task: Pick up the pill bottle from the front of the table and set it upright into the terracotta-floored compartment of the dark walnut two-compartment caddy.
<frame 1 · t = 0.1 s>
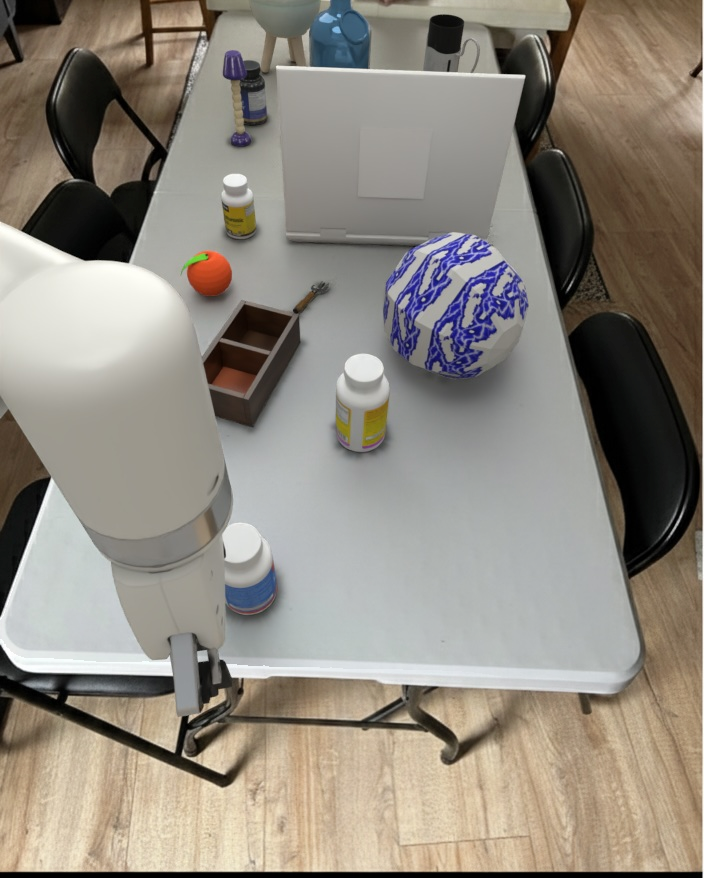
hand: (207, 618, 45), 21 cm above the table, tool pointing down, fingers open, 9 cm apart
supplement bottle 2: (241, 232, 110), on the table
caddy: (248, 374, 89), on the table
clementine: (210, 293, 100), on the table
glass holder: (445, 98, 145), on the table
supplement bottle: (360, 435, 83), on the table
laptop: (384, 206, 117), on the table
pill bottle 2: (253, 120, 135), on the table
ornament: (443, 356, 93), on the table
toy lamp: (242, 141, 130), on the table
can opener: (311, 300, 100), on the table
wine bottle: (339, 103, 141), on the table
planter: (288, 71, 151), on the table
pill bottle: (250, 590, 70), on the table
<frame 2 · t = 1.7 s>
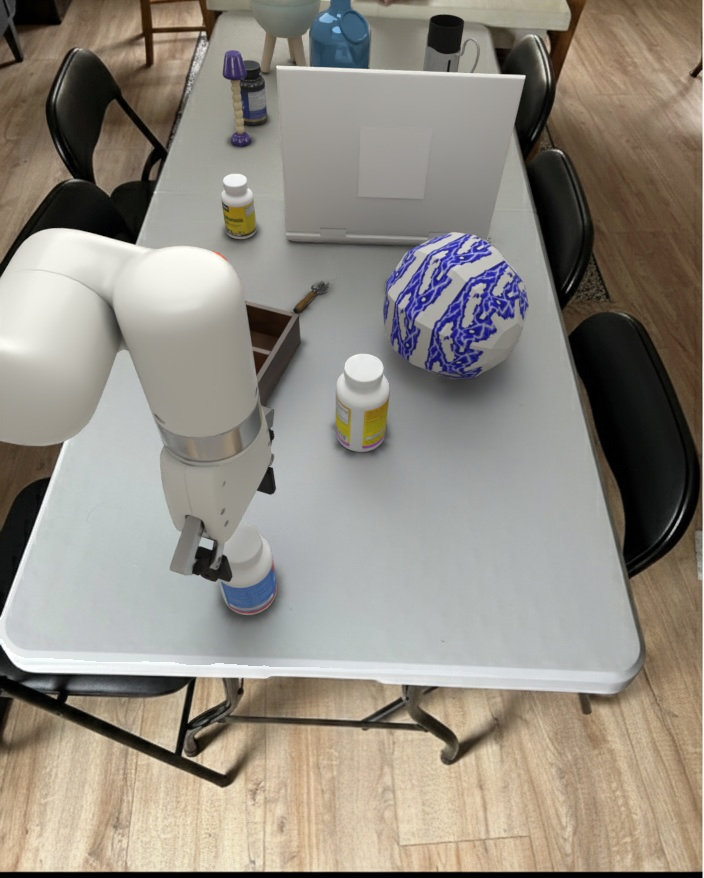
hand: (239, 529, 58), 14 cm above the table, tool pointing down, fingers open, 9 cm apart
nothing on the table moved.
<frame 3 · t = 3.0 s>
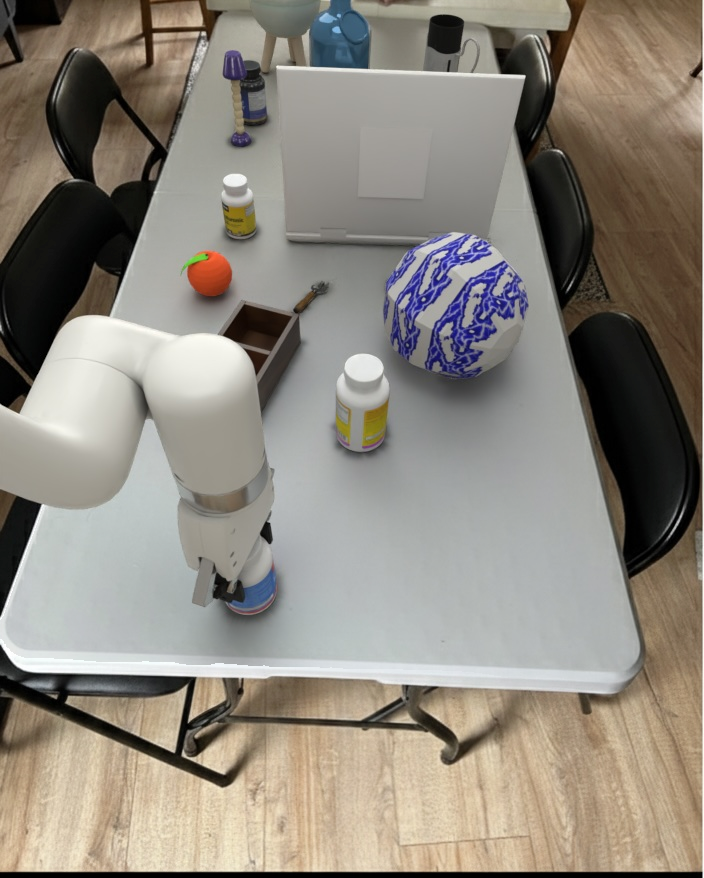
hand: (244, 565, 65), 6 cm above the table, tool pointing down, fingers closed on pill bottle, 6 cm apart
pill bottle: (250, 590, 70), on the table, touching gripper
everything else where it was.
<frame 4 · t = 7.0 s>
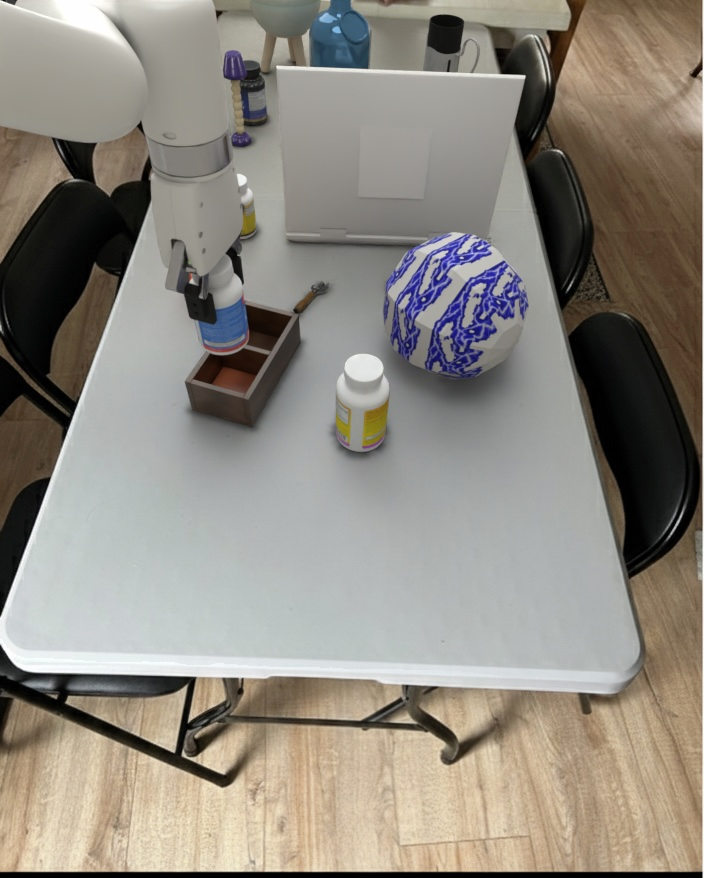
hand: (217, 300, 71), 19 cm above the table, tool pointing down, fingers closed on pill bottle, 6 cm apart
pill bottle: (224, 340, 76), point 13 cm above the table, touching gripper
everything else where it was.
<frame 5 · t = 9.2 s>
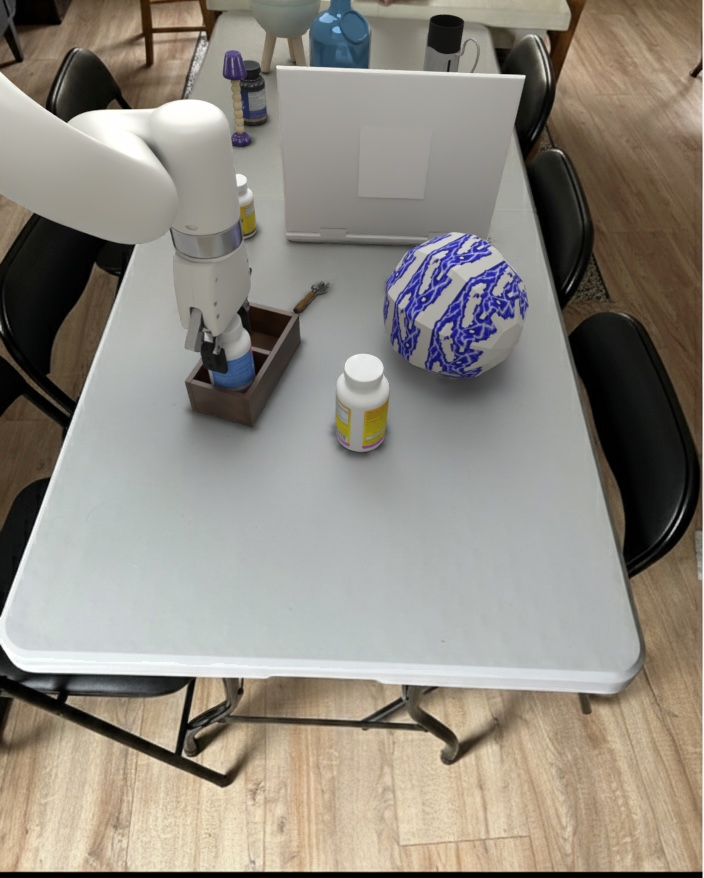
hand: (228, 351, 80), 9 cm above the table, tool pointing down, fingers closed on pill bottle, 6 cm apart
pill bottle: (234, 383, 85), point 2 cm above the table, touching gripper
everything else where it was.
when the fingers open (7 cm above the table, at t = 10.2 s): pill bottle stays where it is, resting on caddy.
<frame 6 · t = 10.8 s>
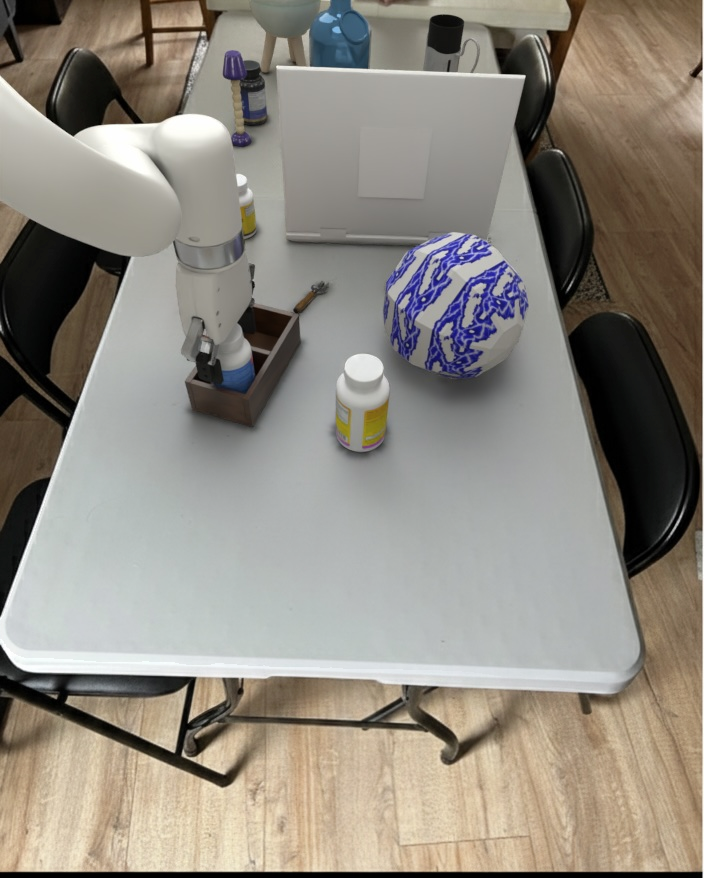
hand: (228, 354, 81), 8 cm above the table, tool pointing down, fingers open, 9 cm apart
pill bottle: (235, 392, 86), point 1 cm above the table, touching caddy
everything else where it was.
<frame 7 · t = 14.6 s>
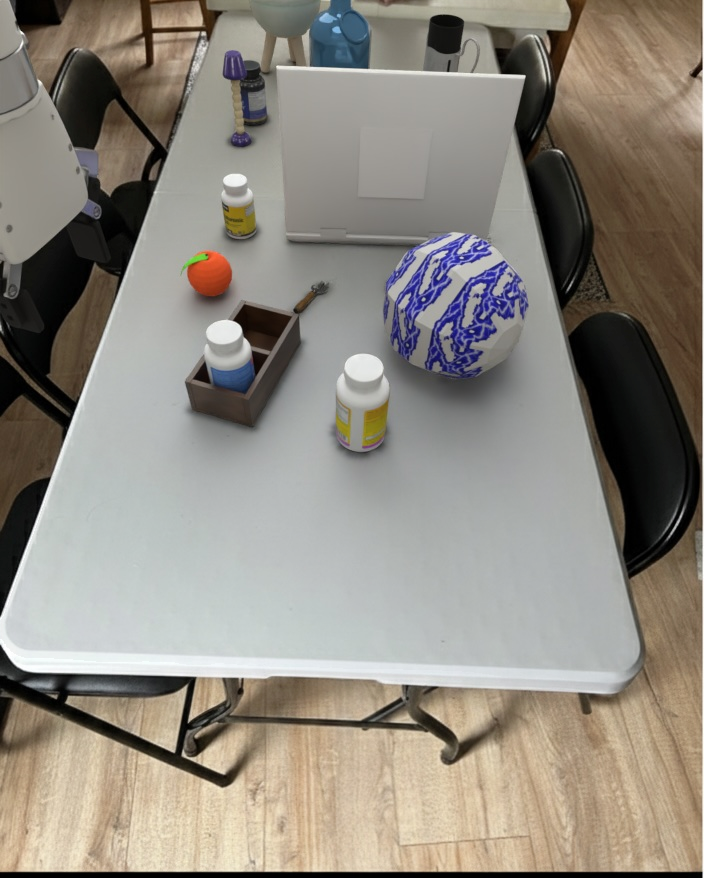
hand: (62, 290, 53), 30 cm above the table, tool pointing down, fingers open, 9 cm apart
nothing on the table moved.
at the end: pill bottle inside the target area in the caddy (0.2 cm from its centre), point 0.6 cm above the caddy's base; pill bottle tilted 0°; the gripper is holding nothing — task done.
